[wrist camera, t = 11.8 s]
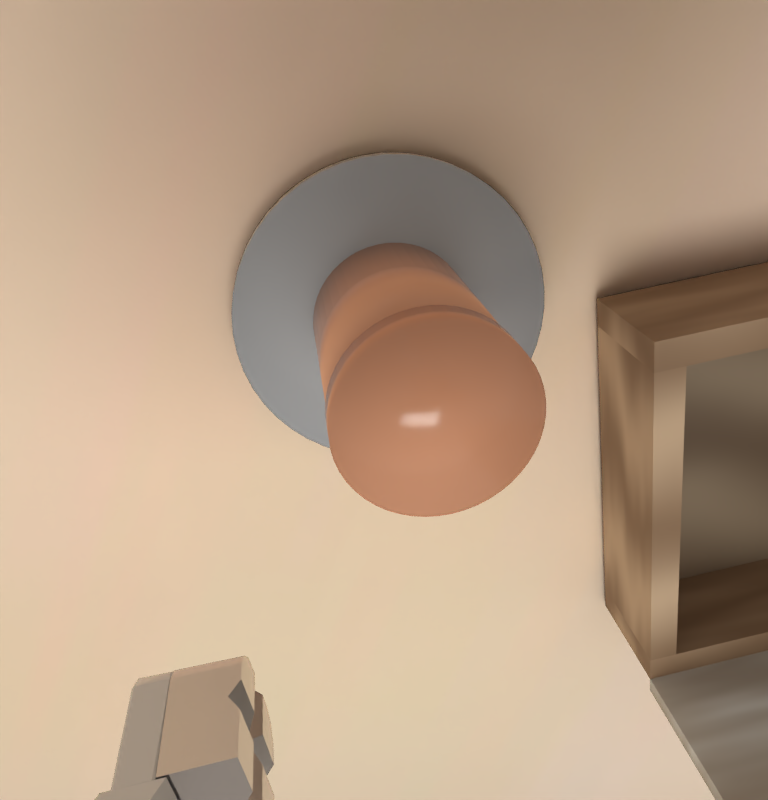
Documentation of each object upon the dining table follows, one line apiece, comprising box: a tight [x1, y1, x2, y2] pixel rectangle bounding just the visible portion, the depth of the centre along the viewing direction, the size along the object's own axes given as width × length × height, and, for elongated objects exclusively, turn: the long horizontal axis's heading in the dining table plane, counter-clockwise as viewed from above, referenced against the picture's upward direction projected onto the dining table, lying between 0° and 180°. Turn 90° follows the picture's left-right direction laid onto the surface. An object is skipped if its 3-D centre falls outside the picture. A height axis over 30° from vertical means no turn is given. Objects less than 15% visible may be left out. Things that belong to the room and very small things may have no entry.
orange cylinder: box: [313, 243, 546, 517], centre depth 19 cm, size 5×5×7 cm
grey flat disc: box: [232, 152, 544, 448], centre depth 23 cm, size 10×10×1 cm
